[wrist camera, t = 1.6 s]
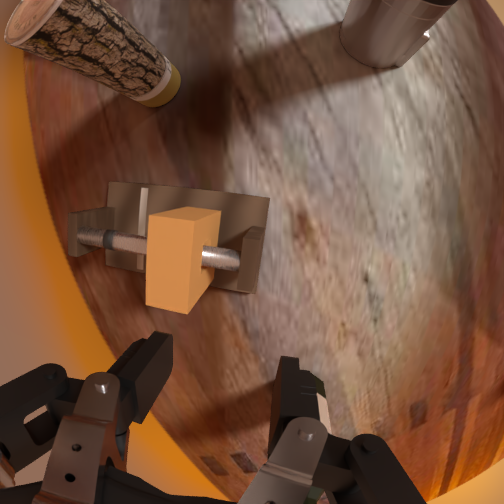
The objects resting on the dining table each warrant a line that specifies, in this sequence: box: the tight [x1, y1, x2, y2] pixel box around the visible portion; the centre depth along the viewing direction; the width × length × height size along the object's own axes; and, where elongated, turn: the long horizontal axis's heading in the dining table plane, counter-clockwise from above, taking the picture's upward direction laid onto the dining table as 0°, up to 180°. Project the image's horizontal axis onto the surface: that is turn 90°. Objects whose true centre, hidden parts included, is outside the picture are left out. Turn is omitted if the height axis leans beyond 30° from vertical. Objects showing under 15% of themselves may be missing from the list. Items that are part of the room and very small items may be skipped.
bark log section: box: [5, 0, 181, 107], centre depth 20 cm, size 7×7×25 cm
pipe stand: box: [68, 182, 270, 294], centre depth 32 cm, size 22×12×10 cm, turn 82°
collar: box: [146, 207, 221, 314], centre depth 28 cm, size 4×8×10 cm, turn 172°
